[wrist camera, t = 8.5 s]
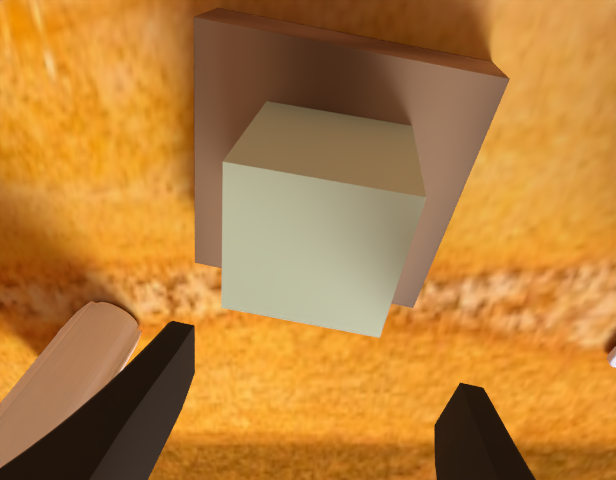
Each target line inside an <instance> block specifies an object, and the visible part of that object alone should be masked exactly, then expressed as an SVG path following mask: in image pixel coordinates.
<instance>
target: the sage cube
mask: <svg viewBox="0 0 616 480" xmlns="http://www.w3.org/2000/svg"><path fill="white" fill-rule="evenodd" d="M425 200H426V193H425V188H424V183H423V178H422V173H421V168H420V163H419V158H418V153H417V148H416V143H415V138H414V133H413V128H412V126H410V125H404V124H398V123H392V122H386V121H380V120H374V119H369V118H363V117H357V116H351V115H345V114H339V113H333V112H327V111H322V110H316V109H310V108H304V107H298V106H292V105H286V104H280V103H274V102H269V101H266V103H265V104H264V105H263V107H262V108H261V110H260V111H259V112H258V114H257V115H256V116H255V118H254V119H253V121H252V122H251V123H250V125H249V126H248V127H247V129H246V130H245V132H244V133H243V134H242V136H241V137H240V138H239V140H238V141H237V143H236V144H235V145H234V147H233V148H232V149H231V151H230V152H229V154H228V155H227V156H226V158H225V159H224V160H223V187H222V308H226V309H231V310H236V311H241V312H247V313H252V314H257V315H263V316H268V317H273V318H278V319H284V320H289V321H294V322H299V323H305V324H310V325H315V326H321V327H326V328H331V329H336V330H342V331H347V332H352V333H357V334H363V335H368V336H373V337H378V338H380V335H381V332H382V329H383V326H384V323H385V320H386V317H387V314H388V311H389V308H390V305H391V302H392V299H393V296H394V293H395V290H396V287H397V284H398V281H399V278H400V275H401V272H402V269H403V266H404V263H405V260H406V257H407V254H408V251H409V248H410V245H411V242H412V239H413V236H414V233H415V230H416V227H417V224H418V221H419V218H420V215H421V212H422V209H423V206H424V203H425Z"/></svg>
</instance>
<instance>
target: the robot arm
mask: <svg viewBox="0 0 616 480" xmlns="http://www.w3.org/2000/svg"><path fill="white" fill-rule="evenodd" d="M607 360H608V362H609V364H610V365H611V366H612V367H615V368H616V346H615V347H614V349H613V350H612V351H611V352H610V353H609V354H608V356H607ZM194 373H195V334H194V325H189V324H184V323H180V322H175V321H171V322H169V323H168V324H167V325H166V326H165V327H164V328H163V329H162V331H161V332H160V333H159V334H158V335H157V336H156V337H155V338H154V339H153V340H152V341H151V342H150V343H149V344H148V345H147V346H146V347H145V348H144V349H143V350H142V351H141V352H140V353H139V354H138V355H137V356H136V357H135V358H134V359H133V360H132V361H131V362H130V363H129V364H128V365H127V366H126V367H125V368H124V369H123V370H122V371H121V372H119V373H118V374H117V375H116V376H115V377H114V378H113V379H112V380H111V381H110V382H109V383H108V384H107V385H105V386H104V387H103V388H102V389H101V390H100V391H99V392H98V393H96V394H95V395H94V396H93V397H92V398H90V399H89V400H88V401H87V402H86V403H85V404H83V405H82V406H81V407H80V408H79V409H78V410H76V411H75V412H74V413H73V414H72V415H70V416H69V417H68V418H67V419H66V420H64V421H63V422H62V423H61V424H59V425H58V426H57V427H55V428H54V429H53V430H52V431H50V432H49V433H48V434H46V435H45V436H44V437H42V438H41V439H40V440H38V441H37V442H36V443H34V444H33V445H32V446H30V447H29V448H28V449H26V450H25V451H24V452H22V453H21V454H19V455H18V456H16V457H15V458H14V459H12V460H11V461H9V462H8V463H7V464H5V465H4V466H2V467H1V468H0V480H148V478H149V476H150V474H151V472H152V470H153V468H154V466H155V464H156V462H157V459H158V457H159V455H160V453H161V451H162V449H163V447H164V445H165V443H166V441H167V439H168V437H169V435H170V433H171V431H172V429H173V426H174V424H175V422H176V420H177V418H178V416H179V414H180V412H181V410H182V407H183V404H184V402H185V399H186V396H187V393H188V391H189V388H190V385H191V382H192V379H193V376H194ZM435 467H436V475H437V480H536V479H535V478H534V476H533V474H532V473H531V471H530V469H529V468H528V466H527V464H526V463H525V461H524V459H523V458H522V456H521V454H520V452H519V451H518V449H517V447H516V446H515V444H514V442H513V440H512V438H511V437H510V435H509V433H508V431H507V430H506V428H505V426H504V424H503V422H502V421H501V419H500V417H499V415H498V413H497V411H496V410H495V408H494V406H493V404H492V402H491V401H490V399H489V397H488V395H487V393H486V392H485V390H484V388H482V387H478V386H473V385H468V384H464V383H460V384H459V386H458V387H457V389H456V391H455V392H454V394H453V396H452V397H451V399H450V401H449V402H448V404H447V405H446V407H445V409H444V410H443V412H442V414H441V415H440V417H439V419H438V420H437V422H436V424H435Z"/></svg>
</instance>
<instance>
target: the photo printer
mask: <svg viewBox="0 0 616 480" xmlns="http://www.w3.org/2000/svg"><path fill="white" fill-rule="evenodd" d="M141 333H142V331H141V330H139V329H138V323H137V322H136V320H135V319H134V318H133V317H132V316H131V315H130V314H128V313H127V312H126V311H124V310H123V309H121V308H119V307H117V306H115V305H113V304H110V303H106V302H99V303H95V302H93V301H91V302H89V303H88V304H86V305H85V306H83V307H82V308H81V309H80V310H79V311H77V312H76V313H75V314H74V315H73V316H72V317H71V318H70V319H69V321H68V322H67V323H66V324H65V325H64V326H63V327H62V328H61V329H60V330H59V332H58V333H57V335H56V336H55V337H54V338H53V340H52V341H51V342H50V343H49V344H48V346H47V347H46V348H45V349H44V351H43V352H42V353H41V354H40V355H39V357H38V358H37V359H36V360H35V362H34V363H33V364H32V365H31V366H30V368H29V369H28V370H27V371H26V373H25V374H24V375H23V376H22V377H21V379H20V380H19V381H18V382H17V384H16V385H15V386H14V387H13V388H12V390H11V391H10V392H9V393H8V394H7V396H6V397H5V398H4V399H3V400H2V402H1V403H0V468H1V467H2V466H4V465H5V464H7V463H8V462H9V461H11V460H12V459H14V458H15V457H16V456H18V455H19V454H21V453H22V452H24V451H25V450H26V449H28V448H29V447H30V446H32V445H33V444H34V443H36V442H37V441H38V440H40V439H41V438H42V437H44V436H45V435H46V434H48V433H49V432H50V431H52V430H53V429H54V428H55V427H57V426H58V425H59V424H61V423H62V422H63V421H64V420H66V419H67V418H68V417H69V416H70V415H72V414H73V413H74V412H75V411H76V410H78V409H79V408H80V407H81V406H82V405H83V404H85V403H86V402H87V401H88V400H89V399H90V398H92V397H93V396H94V395H95V394H96V393H98V392H99V391H100V390H101V389H102V388H103V387H104V386H105V385H107V384H108V383H109V382H110V381H111V380H112V379H113V378H114V377H115V376H116V375H117V374H118V373H119V372H121V371H122V370H123V368H124V366H125V365H126V363H127V361H128V360H129V358H130V356H131V355H132V353H133V351H134V349H135V347H136V345H137V343H138V341H139V338H140V336H141Z"/></svg>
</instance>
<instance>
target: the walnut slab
mask: <svg viewBox="0 0 616 480" xmlns="http://www.w3.org/2000/svg"><path fill="white" fill-rule="evenodd" d="M508 82H509V78H508V77H507V76H506V75H505V74H504V73H503V72H502V71H501V70H500V69H499V68H498V67H497V66H496V65H495V64H494V63H493V62H492V61H487V60H481V59H476V58H471V57H466V56H461V55H456V54H451V53H446V52H440V51H435V50H430V49H425V48H420V47H415V46H410V45H405V44H399V43H394V42H389V41H384V40H379V39H374V38H369V37H363V36H358V35H353V34H348V33H343V32H338V31H333V30H328V29H322V28H317V27H312V26H307V25H302V24H297V23H292V22H286V21H281V20H276V19H271V18H266V17H261V16H256V15H251V14H245V13H240V12H235V11H230V10H225V9H220V8H217V9H214V10H212V11H209V12H206V13H204V14H201V15H198V16H196V17H194V149H195V263H200V264H204V265H209V266H214V267H219V268H222V187H223V160H224V159H225V158H226V156H227V155H228V154H229V152H230V151H231V149H232V148H233V147H234V145H235V144H236V143H237V141H238V140H239V138H240V137H241V136H242V134H243V133H244V132H245V130H246V129H247V127H248V126H249V125H250V123H251V122H252V121H253V119H254V118H255V116H256V115H257V114H258V112H259V111H260V110H261V108H262V107H263V105H264V104H265V103H266V101H269V102H274V103H280V104H286V105H292V106H298V107H304V108H310V109H316V110H322V111H327V112H333V113H339V114H345V115H351V116H357V117H363V118H369V119H374V120H380V121H386V122H392V123H398V124H404V125H410V126H412V128H413V133H414V138H415V143H416V148H417V153H418V158H419V163H420V168H421V173H422V178H423V183H424V188H425V193H426V200H425V203H424V206H423V209H422V212H421V215H420V218H419V221H418V224H417V227H416V230H415V233H414V236H413V239H412V242H411V245H410V248H409V251H408V254H407V257H406V260H405V263H404V266H403V269H402V272H401V275H400V278H399V281H398V284H397V287H396V290H395V293H394V296H393V299H392V302H391V303H392V304H397V305H402V306H406V307H411V308H413V307H414V305H415V302H416V300H417V297H418V295H419V293H420V290H421V288H422V286H423V283H424V281H425V279H426V276H427V274H428V271H429V269H430V267H431V264H432V262H433V260H434V257H435V255H436V252H437V250H438V248H439V245H440V243H441V241H442V238H443V236H444V233H445V231H446V229H447V226H448V224H449V222H450V219H451V217H452V214H453V212H454V210H455V207H456V205H457V203H458V200H459V198H460V196H461V193H462V191H463V188H464V186H465V184H466V181H467V179H468V177H469V174H470V172H471V169H472V167H473V165H474V162H475V160H476V158H477V155H478V153H479V150H480V148H481V146H482V143H483V141H484V139H485V136H486V134H487V131H488V129H489V127H490V124H491V122H492V120H493V117H494V115H495V113H496V110H497V108H498V105H499V103H500V101H501V98H502V96H503V94H504V91H505V89H506V86H507V84H508Z"/></svg>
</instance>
